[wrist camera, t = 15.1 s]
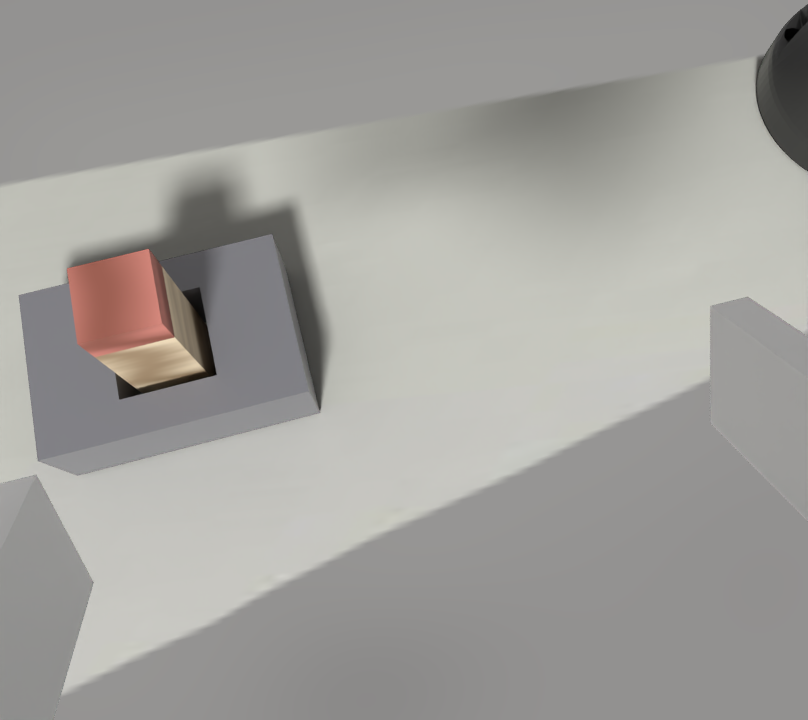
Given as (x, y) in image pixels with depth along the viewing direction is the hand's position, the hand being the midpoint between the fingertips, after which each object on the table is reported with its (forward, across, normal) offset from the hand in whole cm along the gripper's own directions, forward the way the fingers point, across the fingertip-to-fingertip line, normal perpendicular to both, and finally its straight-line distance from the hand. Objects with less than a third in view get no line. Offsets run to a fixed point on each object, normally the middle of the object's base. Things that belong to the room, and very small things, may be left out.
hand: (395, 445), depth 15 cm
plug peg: (+31, -11, -12) cm, 35 cm away
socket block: (+31, -11, -12) cm, 35 cm away
